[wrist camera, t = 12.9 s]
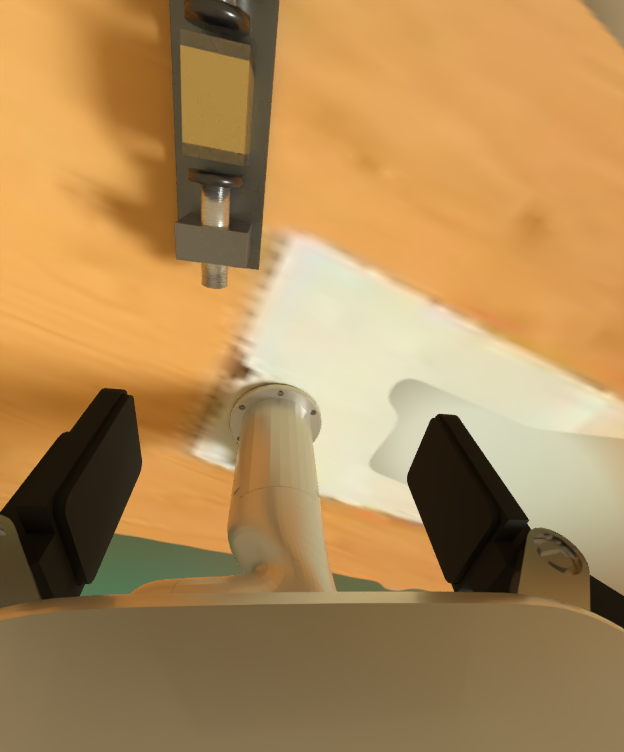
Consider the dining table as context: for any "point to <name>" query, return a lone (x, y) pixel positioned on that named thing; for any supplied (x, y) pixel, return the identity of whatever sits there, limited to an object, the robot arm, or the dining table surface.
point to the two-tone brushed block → (216, 97)
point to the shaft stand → (218, 179)
